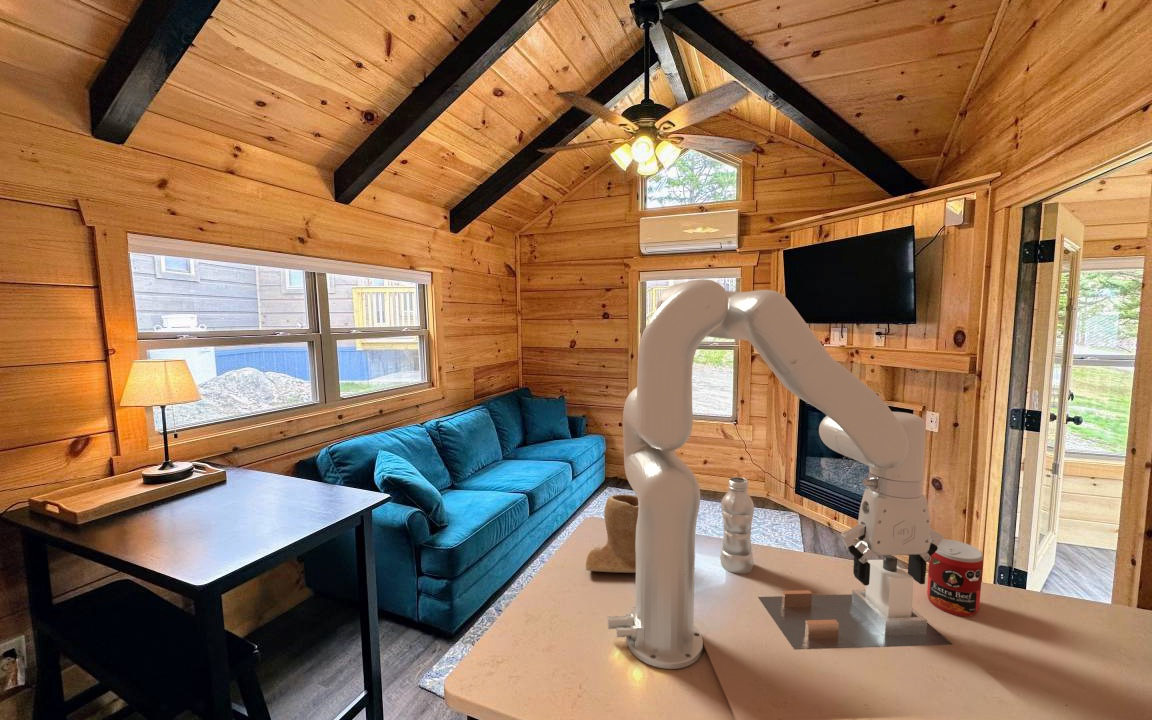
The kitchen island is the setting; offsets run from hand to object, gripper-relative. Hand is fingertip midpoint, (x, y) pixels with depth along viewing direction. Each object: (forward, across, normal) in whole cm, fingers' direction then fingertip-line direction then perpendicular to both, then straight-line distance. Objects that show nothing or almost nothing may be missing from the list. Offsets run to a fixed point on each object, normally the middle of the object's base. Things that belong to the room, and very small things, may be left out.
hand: (888, 580), depth 82 cm
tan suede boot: (+8, -44, +22) cm, 50 cm away
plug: (+7, 0, 0) cm, 7 cm away
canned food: (+8, +16, +5) cm, 19 cm away
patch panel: (+8, -7, 0) cm, 11 cm away
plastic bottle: (+8, -20, +18) cm, 28 cm away
